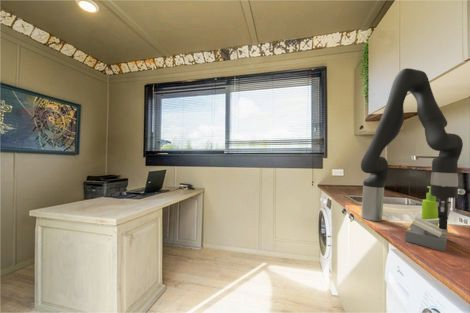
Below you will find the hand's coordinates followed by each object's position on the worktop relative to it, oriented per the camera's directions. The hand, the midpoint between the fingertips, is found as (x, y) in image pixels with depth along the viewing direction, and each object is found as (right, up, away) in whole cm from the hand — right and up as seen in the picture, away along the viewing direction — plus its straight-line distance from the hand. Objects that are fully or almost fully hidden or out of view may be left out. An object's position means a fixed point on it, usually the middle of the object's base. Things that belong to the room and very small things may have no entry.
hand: (443, 228), depth 80 cm
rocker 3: (-7, 0, -1) cm, 7 cm away
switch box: (-3, -6, +4) cm, 7 cm away
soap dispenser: (+12, -6, +18) cm, 22 cm away
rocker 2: (-3, 0, +3) cm, 4 cm away
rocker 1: (+2, 0, +7) cm, 8 cm away
